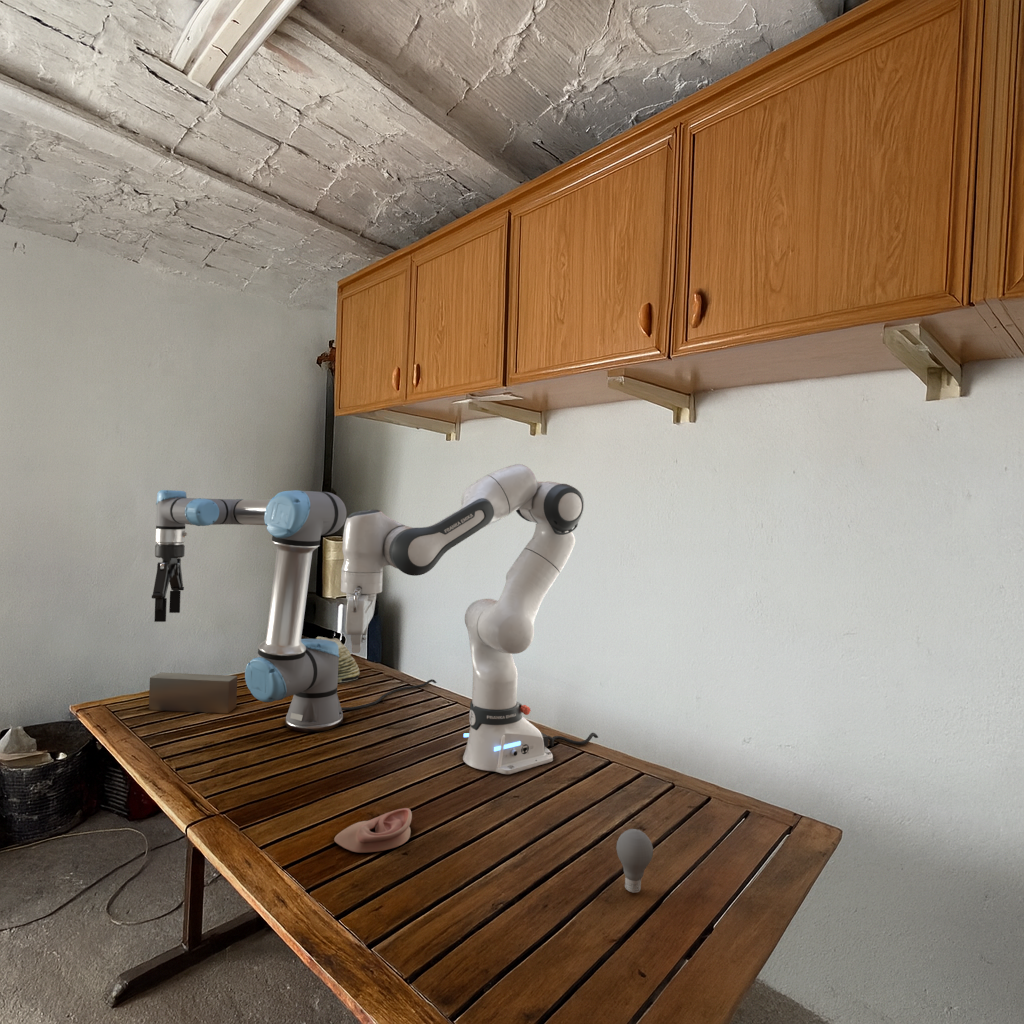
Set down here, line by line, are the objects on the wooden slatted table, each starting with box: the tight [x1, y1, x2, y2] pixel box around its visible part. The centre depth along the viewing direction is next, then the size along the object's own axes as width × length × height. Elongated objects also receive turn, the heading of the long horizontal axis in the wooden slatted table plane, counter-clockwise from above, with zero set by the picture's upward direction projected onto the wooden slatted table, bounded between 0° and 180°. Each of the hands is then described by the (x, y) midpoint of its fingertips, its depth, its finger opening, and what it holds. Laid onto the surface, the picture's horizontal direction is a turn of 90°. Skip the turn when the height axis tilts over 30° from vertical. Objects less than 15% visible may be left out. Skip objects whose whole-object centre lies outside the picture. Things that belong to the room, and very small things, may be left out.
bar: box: [148, 671, 238, 714], centre depth 183 cm, size 23×5×9 cm, turn 90°
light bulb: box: [615, 828, 654, 894], centre depth 106 cm, size 6×6×10 cm
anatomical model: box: [333, 807, 413, 854], centre depth 119 cm, size 13×4×12 cm
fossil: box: [315, 636, 361, 683], centre depth 216 cm, size 9×18×15 cm, turn 132°
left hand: (167, 617), depth 183 cm, fingers open, 13 cm apart
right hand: (359, 646), depth 138 cm, fingers open, 8 cm apart
